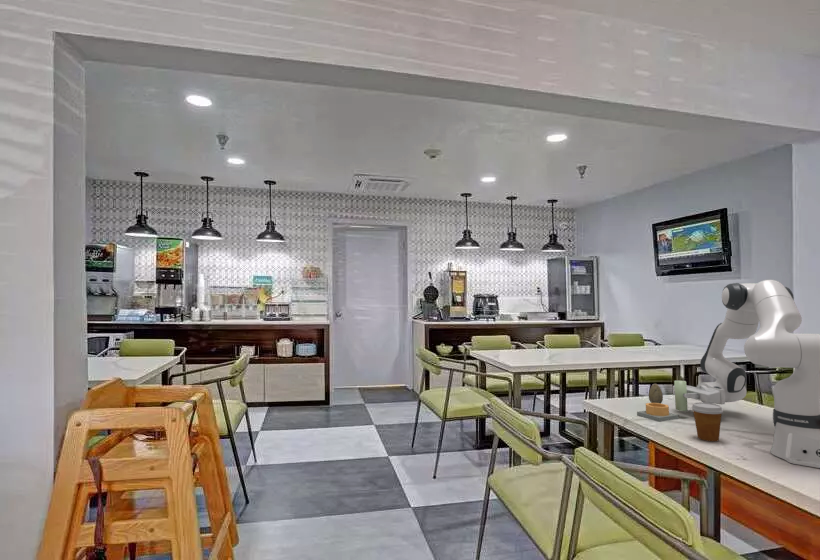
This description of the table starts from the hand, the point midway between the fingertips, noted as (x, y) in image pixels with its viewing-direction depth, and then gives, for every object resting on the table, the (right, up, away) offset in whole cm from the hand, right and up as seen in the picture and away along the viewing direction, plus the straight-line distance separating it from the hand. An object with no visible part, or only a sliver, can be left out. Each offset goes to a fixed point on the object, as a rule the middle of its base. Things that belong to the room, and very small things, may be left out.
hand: (679, 394), depth 189 cm
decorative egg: (+2, -11, +22) cm, 25 cm away
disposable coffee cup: (-7, -9, -29) cm, 31 cm away
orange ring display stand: (-9, -10, +1) cm, 13 cm away
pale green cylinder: (+1, -6, 0) cm, 7 cm away
